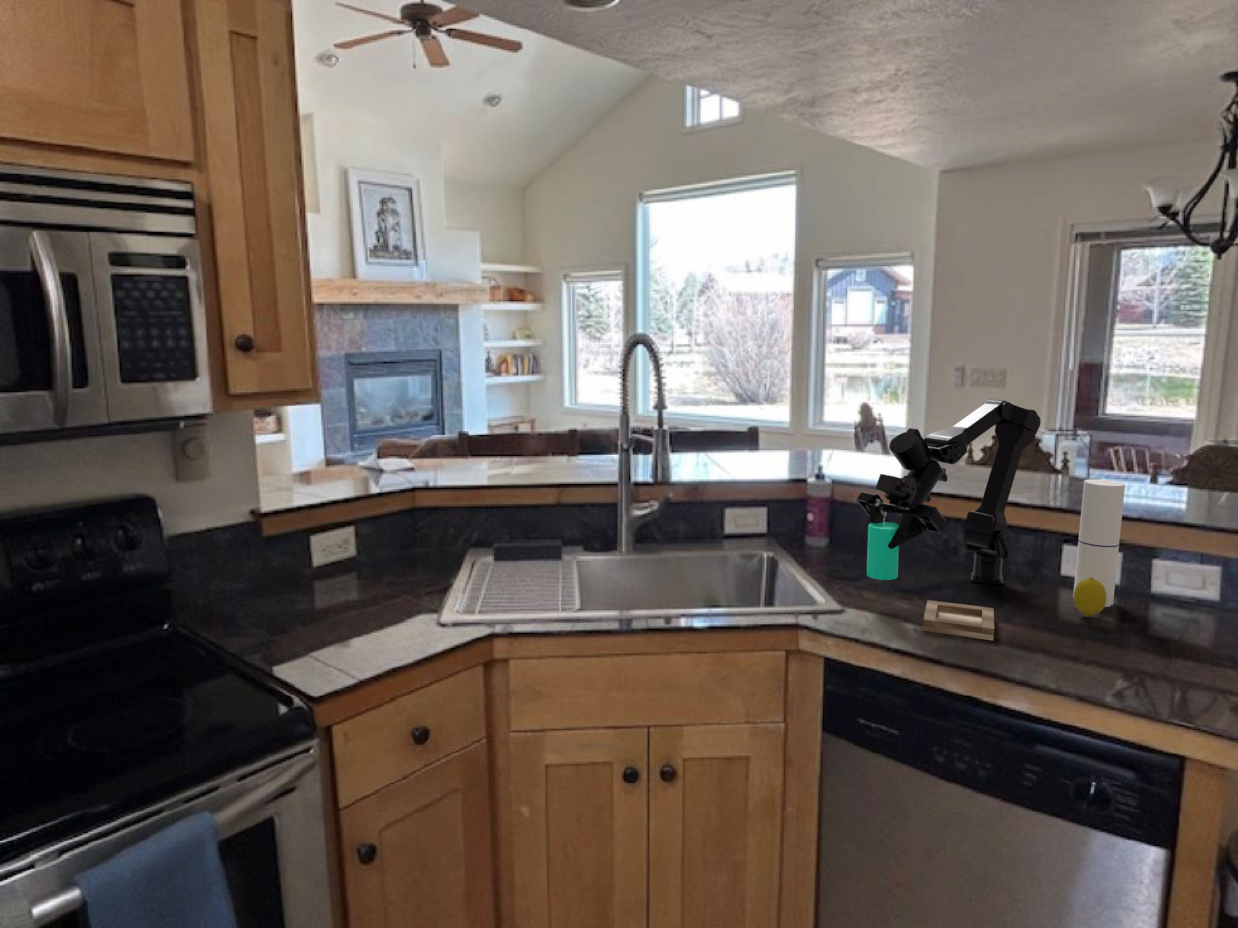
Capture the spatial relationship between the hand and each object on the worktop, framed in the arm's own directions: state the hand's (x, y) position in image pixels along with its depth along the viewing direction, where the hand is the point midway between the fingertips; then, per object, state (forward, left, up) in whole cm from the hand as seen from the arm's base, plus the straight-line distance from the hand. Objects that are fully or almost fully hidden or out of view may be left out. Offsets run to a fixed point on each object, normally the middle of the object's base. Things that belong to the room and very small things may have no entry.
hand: (878, 544), depth 161 cm
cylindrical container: (-22, +41, -13) cm, 48 cm away
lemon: (-11, +39, -13) cm, 42 cm away
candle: (-1, +1, -7) cm, 7 cm away
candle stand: (+4, +16, -13) cm, 21 cm away
